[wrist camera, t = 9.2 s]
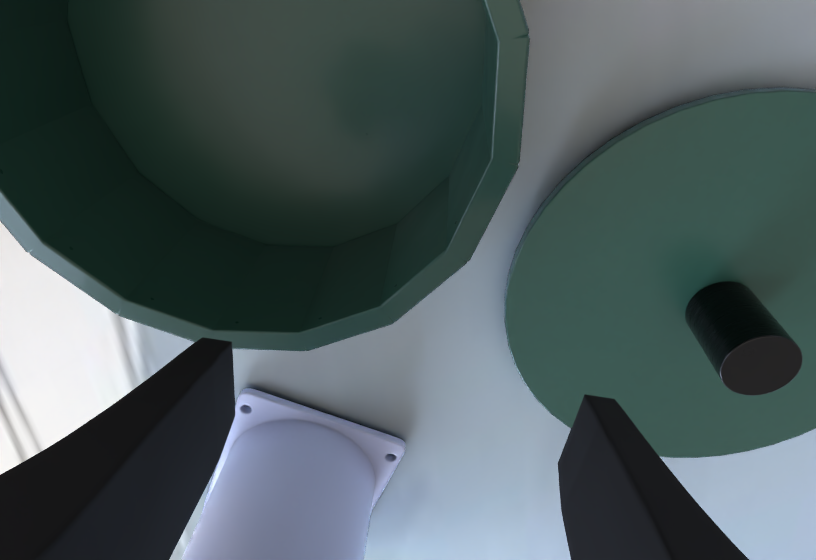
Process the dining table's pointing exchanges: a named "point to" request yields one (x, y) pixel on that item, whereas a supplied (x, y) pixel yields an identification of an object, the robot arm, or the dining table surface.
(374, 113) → the pot
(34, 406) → the dining table surface
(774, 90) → the pot lid
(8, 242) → the dining table surface
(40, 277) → the dining table surface
